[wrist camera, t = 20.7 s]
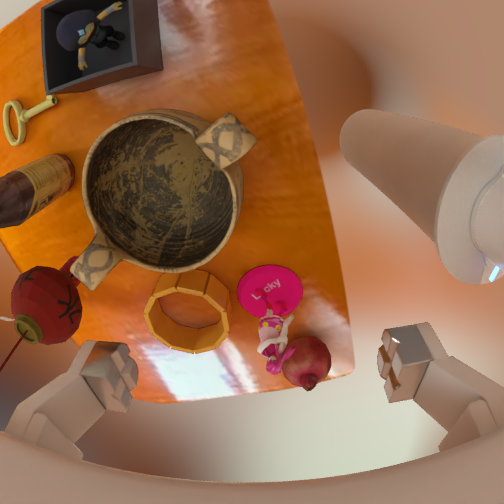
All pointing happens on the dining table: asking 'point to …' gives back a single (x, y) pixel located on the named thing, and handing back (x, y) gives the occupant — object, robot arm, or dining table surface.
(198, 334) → the toy bowl
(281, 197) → the dining table surface
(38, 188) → the sauce bottle
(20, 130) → the key
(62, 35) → the character figure
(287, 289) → the figurine
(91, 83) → the bin
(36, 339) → the lantern
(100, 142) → the ceramic bowl
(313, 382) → the fruit
